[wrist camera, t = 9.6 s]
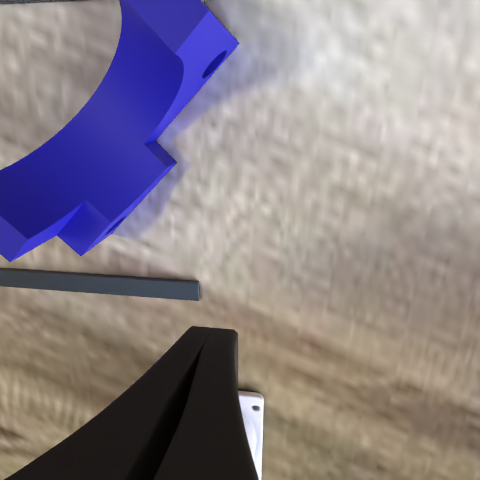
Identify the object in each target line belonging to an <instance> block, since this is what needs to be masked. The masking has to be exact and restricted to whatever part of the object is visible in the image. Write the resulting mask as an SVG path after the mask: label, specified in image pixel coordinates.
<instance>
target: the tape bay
mask: <svg viewBox="0 0 480 480" xmlns="http://www.w3.org/2000/svg"><path fill="white" fill-rule="evenodd" d="M48 1H69V0H0V4H5V3H27V2H48ZM0 286H5V287H18V288H32V289H45V290H59V291H72V292H86V293H99V294H113V295H126V296H140V297H153V298H167V299H180V300H194V301H199V300H200V288H199V281H189V280H173V279H158V278H143V277H128V276H113V275H98V274H83V273H68V272H53V271H38V270H22V269H7V268H0Z"/></svg>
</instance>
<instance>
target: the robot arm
mask: <svg viewBox="0 0 480 480" xmlns="http://www.w3.org/2000/svg"><path fill="white" fill-rule="evenodd" d="M263 403H264V399H263V396H262V395H261V394H259V393H255V392H246V391H238V333H237V332H236V331H235V330H232V329H221V328H209V327H197V326H192V327H190V328H189V329H188V330H187V331H186V332H185V333H184V334H183V335H182V336H181V337H180V338H179V339H178V341H177V342H176V343H175V344H174V345H173V346H172V347H171V348H170V349H169V350H168V351H167V352H166V353H165V354H164V355H163V356H162V357H161V358H160V359H159V360H158V361H157V362H156V363H155V364H154V365H153V366H152V367H151V368H150V369H149V370H148V371H147V372H146V373H145V374H144V375H143V376H141V377H140V378H139V379H138V380H137V381H136V382H135V383H134V384H133V385H132V386H130V387H129V388H128V389H127V390H126V391H125V392H124V393H123V394H121V395H120V396H119V397H118V398H117V399H116V400H115V401H113V402H112V403H111V404H110V405H109V406H108V407H106V408H105V409H104V410H103V411H101V412H100V413H99V414H98V415H96V416H95V417H94V418H93V419H91V420H90V421H89V422H88V423H86V424H85V425H84V426H82V427H81V428H80V429H78V430H77V431H76V432H74V433H73V434H72V435H70V436H69V437H67V438H66V439H65V440H63V441H62V442H60V443H59V444H58V445H56V446H55V447H53V448H52V449H50V450H49V451H47V452H46V453H44V454H43V455H41V456H40V457H38V458H37V459H35V460H34V461H32V462H31V463H29V464H28V465H26V466H25V467H23V468H22V469H20V470H19V471H17V472H16V473H14V474H13V475H11V476H9V477H8V478H6V479H4V480H261V471H262V437H263ZM254 405H256V406H254Z"/></svg>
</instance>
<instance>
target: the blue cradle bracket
mask: <svg viewBox="0 0 480 480" xmlns="http://www.w3.org/2000/svg"><path fill="white" fill-rule="evenodd" d="M119 1H120V6H121V13H122V27H121V34H120V39H119V43H118V47H117V50H116V53H115V56H114V58H113V61H112V63H111V65H110V67H109V69H108V71H107V73H106V75H105V77H104V79H103V80H102V82H101V84H100V85H99V87H98V88H97V90H96V91H95V93H94V94H93V95H92V97H91V98H90V99H89V101H88V102H87V103H86V104H85V106H84V107H83V108H82V109H81V110H80V111H79V113H78V114H77V115H76V116H75V117H74V118H73V119H72V120H71V121H70V122H69V123H68V124H67V125H66V126H65V127H64V128H63V129H62V130H60V131H59V132H58V133H57V134H56V135H55V136H53V137H52V138H51V139H50V140H48V141H47V142H46V143H45V144H43V145H42V146H40V147H39V148H38V149H36V150H35V151H33V152H32V153H30V154H29V155H27V156H26V157H24V158H22V159H21V160H19V161H17V162H15V163H14V164H12V165H10V166H8V167H6V168H4V169H2V170H0V254H1V255H2V256H3V257H5V258H6V259H7V260H8V261H9V262H11V261H13V260H15V259H16V258H18V257H20V256H22V255H23V254H25V253H27V252H28V251H30V250H32V249H34V248H35V247H37V246H39V245H41V244H42V243H44V242H46V241H48V240H49V239H51V238H53V237H54V236H56V235H57V236H58V237H60V238H61V239H62V240H63V241H64V242H65V243H66V244H68V245H69V246H70V247H71V248H72V249H73V250H74V251H75V252H77V253H78V254H79V255H80V256H82V255H83V254H85V253H86V252H87V251H89V250H90V249H91V248H93V247H94V246H95V245H97V244H98V243H99V242H101V241H102V240H103V239H105V238H106V237H107V236H109V235H110V234H111V233H112V232H113V231H114V230H115V229H116V228H117V227H118V226H119V224H120V223H121V222H122V221H123V220H124V219H125V218H126V217H127V216H128V215H129V214H130V213H131V211H132V210H133V209H134V208H135V207H136V206H137V205H138V204H139V203H140V202H141V201H142V200H143V199H144V197H145V196H146V195H147V194H148V193H149V192H150V191H151V190H152V189H153V188H154V187H155V186H156V185H157V183H158V182H159V181H160V180H161V179H162V178H163V177H164V176H165V175H166V174H167V173H168V172H169V170H170V169H171V168H172V167H173V166H174V165H175V164H176V163H177V162H176V161H175V160H174V159H173V158H172V157H171V156H170V155H169V154H168V153H167V152H166V151H165V150H164V149H163V148H162V147H161V146H160V145H159V144H158V143H157V142H156V141H155V140H156V139H157V138H158V137H159V136H160V135H161V133H162V132H163V131H164V130H165V129H166V128H167V126H168V125H169V124H170V123H171V122H172V121H173V120H174V118H175V117H176V116H177V115H178V114H179V113H180V111H181V110H182V109H183V108H184V107H185V106H186V104H187V103H188V102H189V101H190V100H191V99H192V98H193V96H194V95H195V94H196V93H197V92H198V91H199V89H200V88H201V87H202V86H203V85H204V84H205V82H206V81H207V80H208V79H209V78H210V77H211V76H212V74H213V73H214V72H215V71H216V70H217V69H218V67H219V66H220V65H221V64H222V63H223V62H224V60H225V59H226V58H227V57H228V56H229V55H230V54H231V52H232V51H233V50H234V49H235V48H236V47H237V45H238V44H239V43H238V42H237V41H236V39H235V38H234V37H233V36H232V35H231V34H230V32H229V31H228V30H227V29H226V28H225V27H224V25H223V24H222V23H221V22H220V21H219V20H218V19H217V17H216V16H215V15H214V14H213V13H212V12H211V10H210V9H209V8H208V7H207V6H206V5H205V3H204V2H203V1H202V0H119Z"/></svg>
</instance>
